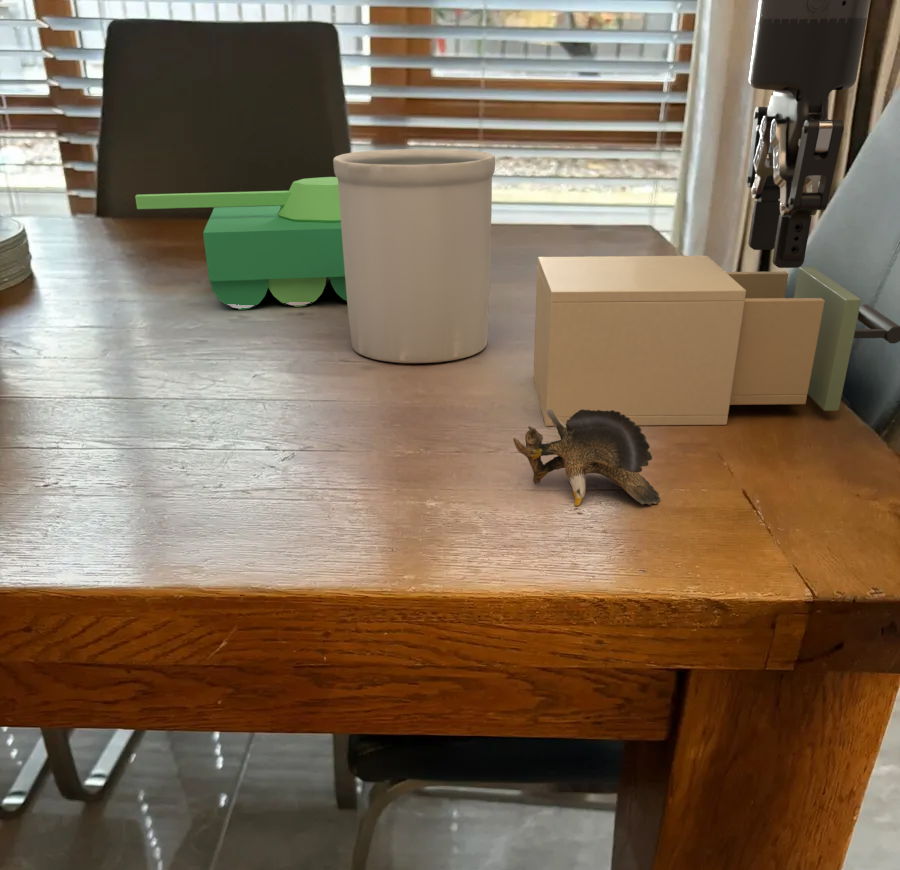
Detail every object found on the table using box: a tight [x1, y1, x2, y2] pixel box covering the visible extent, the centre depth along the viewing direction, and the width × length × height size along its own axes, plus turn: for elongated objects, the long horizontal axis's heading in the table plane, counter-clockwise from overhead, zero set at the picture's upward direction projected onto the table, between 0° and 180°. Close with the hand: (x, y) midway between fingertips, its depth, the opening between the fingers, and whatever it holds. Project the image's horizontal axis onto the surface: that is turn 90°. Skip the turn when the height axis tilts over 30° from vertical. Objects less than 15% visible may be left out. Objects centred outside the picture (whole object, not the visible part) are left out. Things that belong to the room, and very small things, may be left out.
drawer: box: [725, 266, 900, 412], centre depth 81 cm, size 18×11×9 cm, turn 90°
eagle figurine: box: [512, 409, 662, 507], centre depth 66 cm, size 8×7×9 cm
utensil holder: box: [332, 148, 496, 364], centre depth 94 cm, size 15×15×18 cm
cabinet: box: [532, 255, 746, 427], centre depth 81 cm, size 15×13×11 cm
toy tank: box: [134, 176, 347, 311], centre depth 115 cm, size 18×12×35 cm
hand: (774, 256), depth 78 cm, fingers open, 6 cm apart
